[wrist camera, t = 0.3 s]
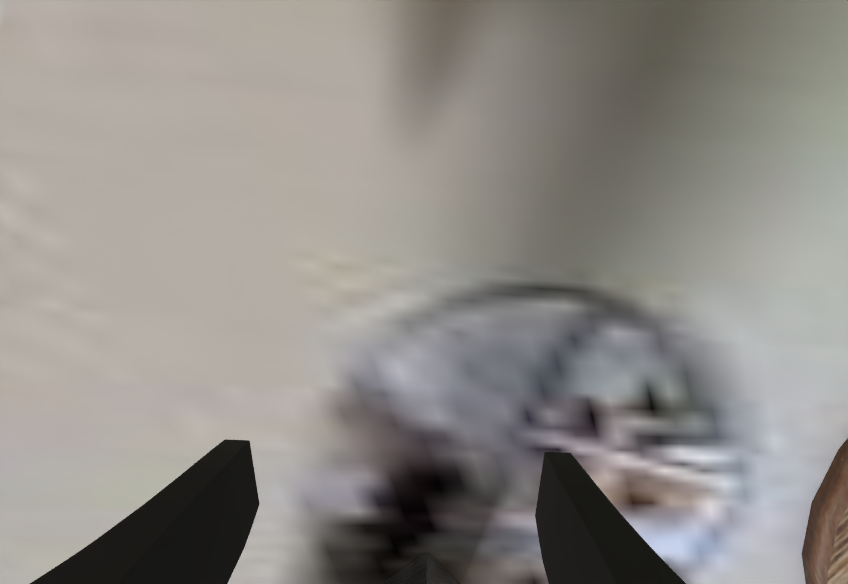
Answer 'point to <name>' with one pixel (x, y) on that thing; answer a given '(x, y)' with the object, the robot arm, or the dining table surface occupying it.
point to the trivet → (829, 527)
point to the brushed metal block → (422, 573)
